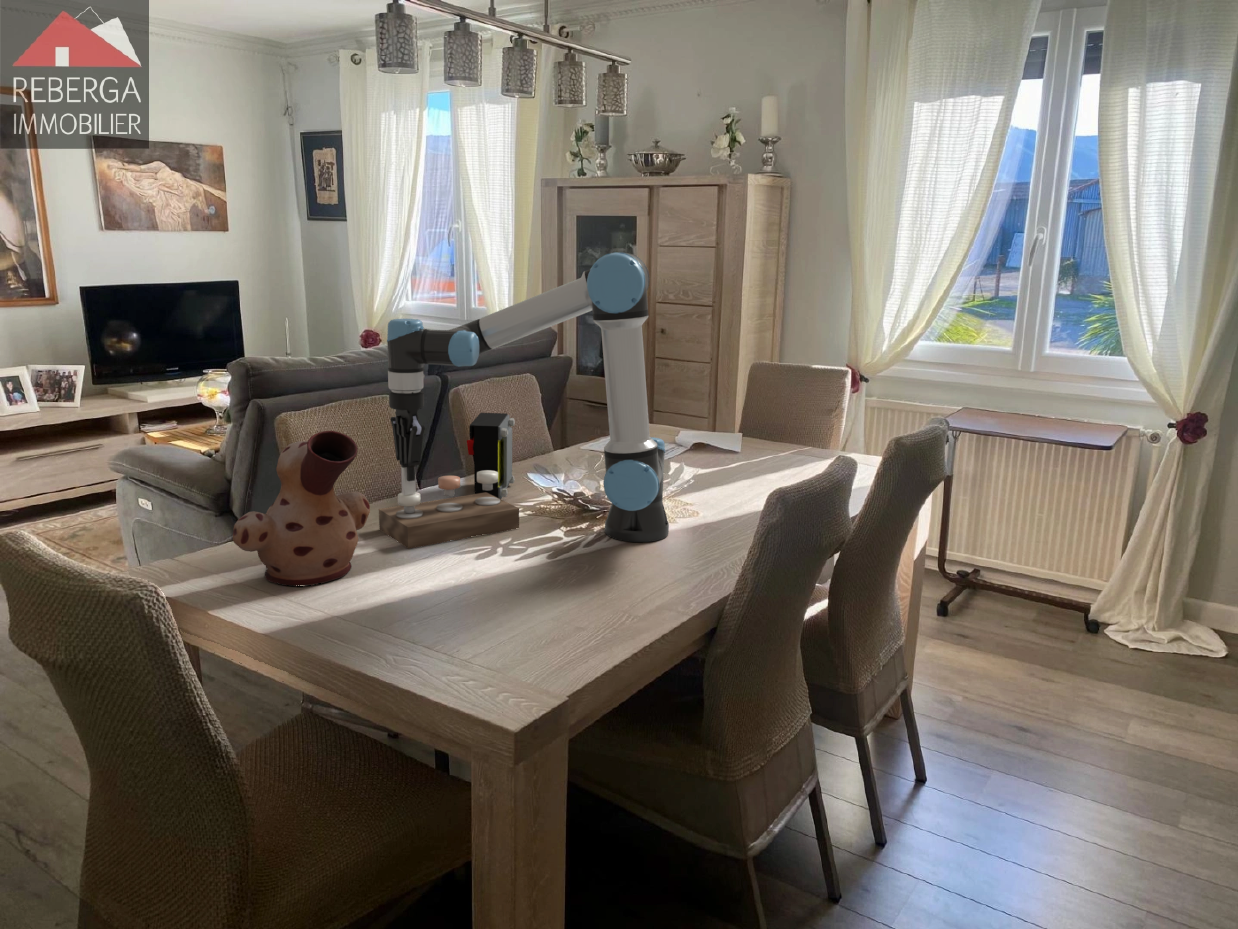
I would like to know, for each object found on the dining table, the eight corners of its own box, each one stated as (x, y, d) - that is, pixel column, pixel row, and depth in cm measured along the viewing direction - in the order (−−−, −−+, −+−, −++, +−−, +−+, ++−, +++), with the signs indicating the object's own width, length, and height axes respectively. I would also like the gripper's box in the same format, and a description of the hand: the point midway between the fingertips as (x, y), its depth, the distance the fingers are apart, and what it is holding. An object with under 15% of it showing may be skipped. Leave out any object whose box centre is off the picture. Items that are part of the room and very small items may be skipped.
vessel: (332, 545, 203) (326, 411, 196) (408, 566, 192) (404, 424, 185) (217, 584, 179) (205, 433, 171) (296, 610, 168) (287, 450, 160)
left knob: (424, 512, 209) (424, 495, 208) (403, 516, 206) (403, 498, 205) (415, 507, 212) (414, 490, 212) (394, 510, 210) (394, 493, 209)
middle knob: (464, 496, 214) (463, 479, 213) (444, 499, 211) (444, 482, 210) (454, 491, 218) (454, 474, 217) (434, 493, 215) (434, 477, 214)
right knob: (501, 490, 220) (501, 473, 219) (483, 493, 217) (483, 476, 216) (491, 485, 224) (491, 469, 223) (473, 488, 221) (473, 471, 220)
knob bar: (519, 528, 218) (519, 506, 217) (408, 548, 202) (407, 525, 201) (486, 511, 231) (486, 490, 229) (379, 529, 214) (378, 506, 213)
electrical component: (506, 502, 240) (506, 426, 235) (467, 500, 240) (466, 425, 235) (515, 484, 257) (515, 413, 252) (478, 483, 257) (478, 412, 252)
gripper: (435, 393, 200) (437, 498, 205) (409, 384, 210) (412, 484, 215) (402, 395, 195) (405, 503, 201) (378, 387, 205) (381, 489, 211)
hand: (408, 493), depth 208 cm, fingers closed
